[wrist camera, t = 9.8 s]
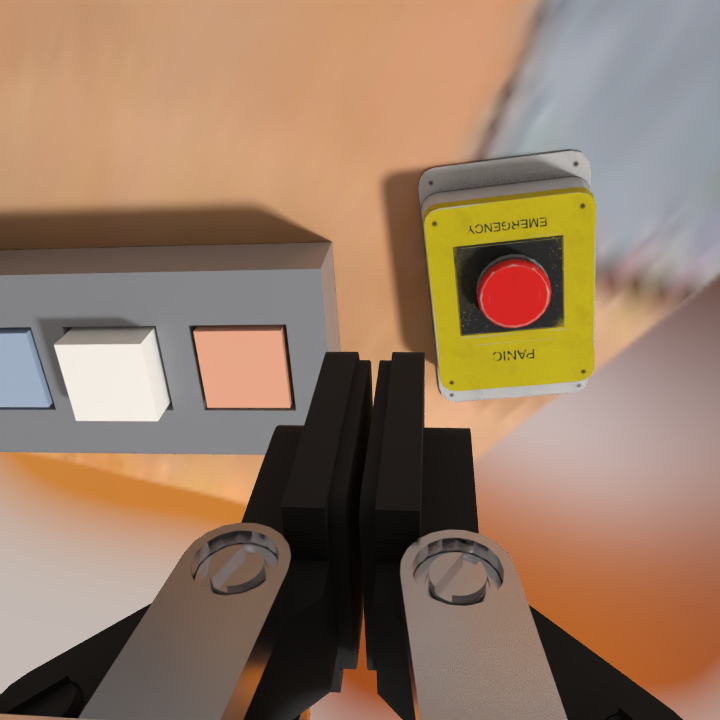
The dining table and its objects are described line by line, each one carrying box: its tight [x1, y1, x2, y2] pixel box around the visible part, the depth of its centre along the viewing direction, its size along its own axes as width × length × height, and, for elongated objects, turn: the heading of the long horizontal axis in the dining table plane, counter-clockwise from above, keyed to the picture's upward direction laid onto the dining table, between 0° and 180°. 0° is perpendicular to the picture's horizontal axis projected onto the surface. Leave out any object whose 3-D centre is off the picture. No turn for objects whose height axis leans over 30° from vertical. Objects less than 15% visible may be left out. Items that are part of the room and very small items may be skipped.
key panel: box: [0, 242, 340, 455], centre depth 42 cm, size 12×25×4 cm, turn 93°
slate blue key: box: [0, 327, 54, 407], centre depth 43 cm, size 5×5×3 cm
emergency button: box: [418, 150, 596, 402], centre depth 39 cm, size 9×4×15 cm
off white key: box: [54, 326, 172, 421], centre depth 40 cm, size 5×5×3 cm
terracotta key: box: [193, 324, 294, 408], centre depth 41 cm, size 5×5×3 cm
